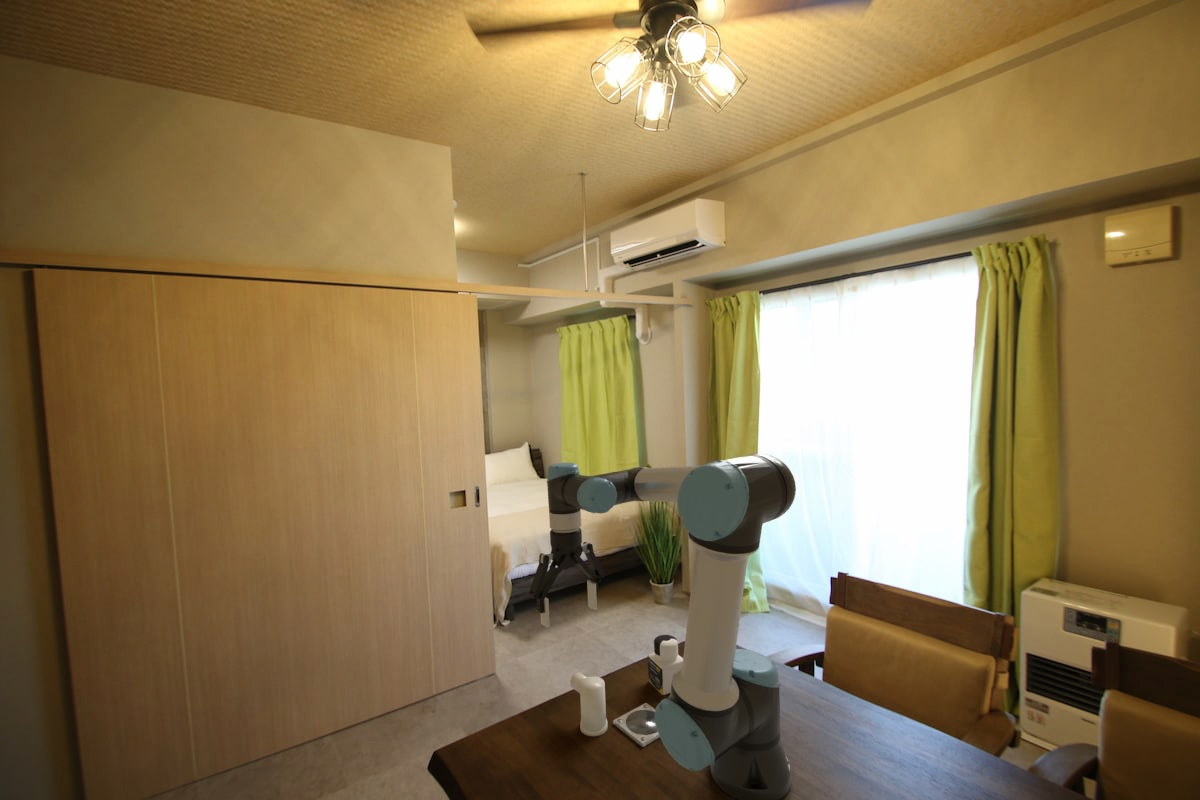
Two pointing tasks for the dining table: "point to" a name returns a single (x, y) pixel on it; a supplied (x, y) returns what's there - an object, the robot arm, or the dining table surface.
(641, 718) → the flange plate
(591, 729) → the elbow
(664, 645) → the medicine bottle
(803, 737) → the dining table surface
